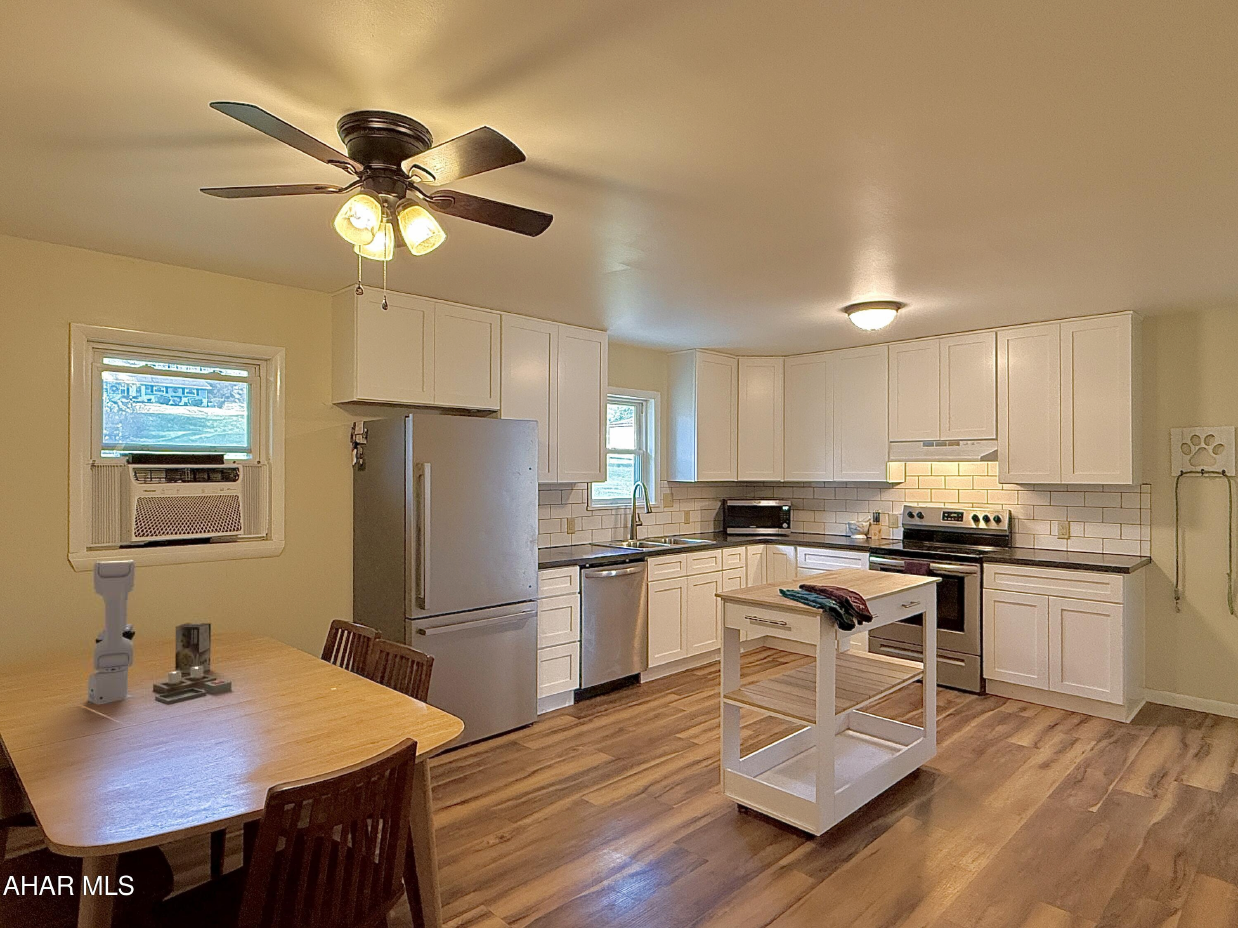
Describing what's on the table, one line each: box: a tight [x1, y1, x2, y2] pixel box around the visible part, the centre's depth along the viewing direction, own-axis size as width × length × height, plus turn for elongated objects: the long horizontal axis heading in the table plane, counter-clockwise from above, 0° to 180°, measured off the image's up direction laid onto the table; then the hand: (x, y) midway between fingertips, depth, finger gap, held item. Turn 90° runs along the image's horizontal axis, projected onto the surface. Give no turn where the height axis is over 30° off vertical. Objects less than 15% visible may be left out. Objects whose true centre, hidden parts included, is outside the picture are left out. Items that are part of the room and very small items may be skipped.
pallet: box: [152, 673, 218, 695], centre depth 232 cm, size 15×9×2 cm, turn 146°
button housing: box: [203, 678, 233, 695], centre depth 229 cm, size 6×6×3 cm
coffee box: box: [174, 622, 212, 674], centre depth 254 cm, size 9×6×16 cm
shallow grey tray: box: [154, 688, 207, 705], centre depth 222 cm, size 11×8×2 cm
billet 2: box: [189, 666, 204, 682], centre depth 235 cm, size 4×4×6 cm
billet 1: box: [167, 670, 182, 687], centre depth 229 cm, size 4×4×6 cm
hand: (115, 657), depth 234 cm, fingers open, 7 cm apart
